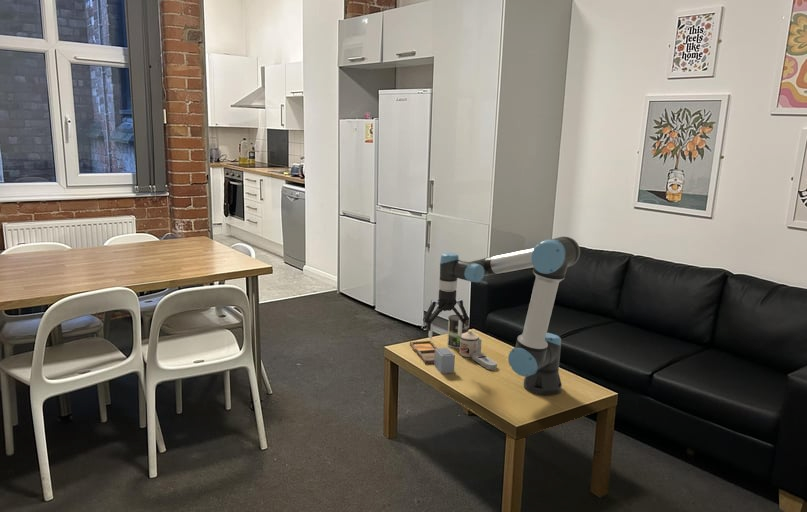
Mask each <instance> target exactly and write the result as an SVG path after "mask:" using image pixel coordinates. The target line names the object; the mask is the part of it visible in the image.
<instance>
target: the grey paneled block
mask: <svg viewBox="0 0 807 512" xmlns="http://www.w3.org/2000/svg"><path fill="white" fill-rule="evenodd" d="M437 348H438V347H437ZM455 360H456V355H455V354H454V352H453V351H451V350H450V348H448V347H442V348H441V347H440V348H438V349H435V358H434V364H433V367H435V368H436V370H437V371H438V372H439V373H440V374H450V373H455Z"/></svg>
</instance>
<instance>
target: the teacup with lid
mask: <svg viewBox="0 0 807 512" xmlns="http://www.w3.org/2000/svg"><path fill="white" fill-rule="evenodd" d="M478 339H480V336H479V335H478V334H477V333H474V332H473V331H472V330H471V329H469V330H468V332H466V333H463V334H462V337H460V349H459V355H461V357H465V358H472V354H473V353H475V352H476V351H477V343H478Z"/></svg>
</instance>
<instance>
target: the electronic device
mask: <svg viewBox="0 0 807 512" xmlns="http://www.w3.org/2000/svg"><path fill="white" fill-rule="evenodd" d="M471 358H472V360H473V361H474V362H476V363H477V364H479V365H480V366H482V367H484V368H485V369H487V370H490V371H494V370H496V369H497V368H498V363H497V361H495V360H493V359H492V358H490V357H489V356H487V355H485V354H484V353H482V339H481V338H479V339H478V343H477V351H476V352H475V353H473V354H472V357H471Z"/></svg>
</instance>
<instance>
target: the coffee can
mask: <svg viewBox="0 0 807 512" xmlns="http://www.w3.org/2000/svg"><path fill="white" fill-rule="evenodd" d="M460 315H461V316H462V317H464V316H463V314H460ZM468 318H469V320H466V322H465V323H464V329H462V334H463V333H466V332H468V330H470V328H469V327H470V317H469V316H468ZM459 320H460V319H459V317H458V316H457V315H456V314H450V315H449V316H448V324H447V325H448V326H447V343H446V345H447V346H448V347H449V348H451V349H459V350H460V336H459V335H458V323H459ZM460 321H461V320H460Z"/></svg>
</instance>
